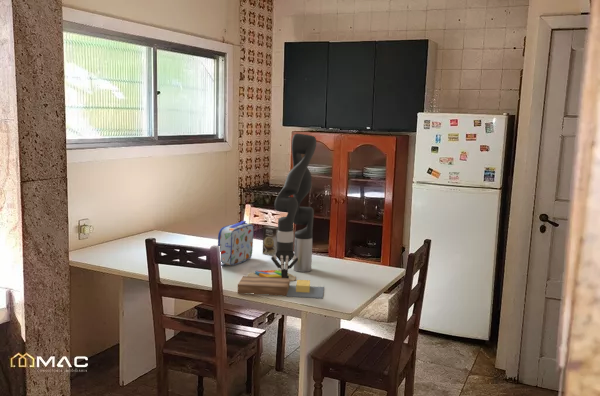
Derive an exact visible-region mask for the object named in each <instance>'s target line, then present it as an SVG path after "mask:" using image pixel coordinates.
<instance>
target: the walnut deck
mask: <svg viewBox="0 0 600 396" xmlns="http://www.w3.org/2000/svg"><path fill="white" fill-rule="evenodd" d="M290 282H291V281H290V278H272V277H251V276H247V275H243V276H242V277H241V279H240V280H239V282H238V283H237V294H240V293H254V294H253V295H258V294H269V295H268V296H278V295H282V296H281V297H283V296H284V297H286V296H287V293H288V289H289V286H290V285H291V283H290ZM240 295H241V294H240Z"/></svg>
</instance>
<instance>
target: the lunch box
mask: <svg viewBox="0 0 600 396" xmlns="http://www.w3.org/2000/svg"><path fill="white" fill-rule="evenodd" d="M254 230H255V229H254V225H253V224H251V223H248V222H247V221H246V220H241V221H239V222H236V223H233V224H228V225H225V226H223V227H221V228H220V229H219V231H218V236H217V247H218V246H220V252H221V262H222V265H223V264H224V265H227V266H236V265H239V264H241V263H243V262H245V261H247V260H250V259H251V258H252V256H253V247H254V245H253V244H254Z"/></svg>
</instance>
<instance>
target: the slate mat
mask: <svg viewBox="0 0 600 396" xmlns="http://www.w3.org/2000/svg"><path fill="white" fill-rule="evenodd" d="M324 288H325V286H315V285H314V286H313V285H310V291H309V292H296V285H293V284H292V285H291V284H290V286H289V289H288V293H287V296H285V297H287V298H302V299H303V298H305V299H307V298H308V299H324Z"/></svg>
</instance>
